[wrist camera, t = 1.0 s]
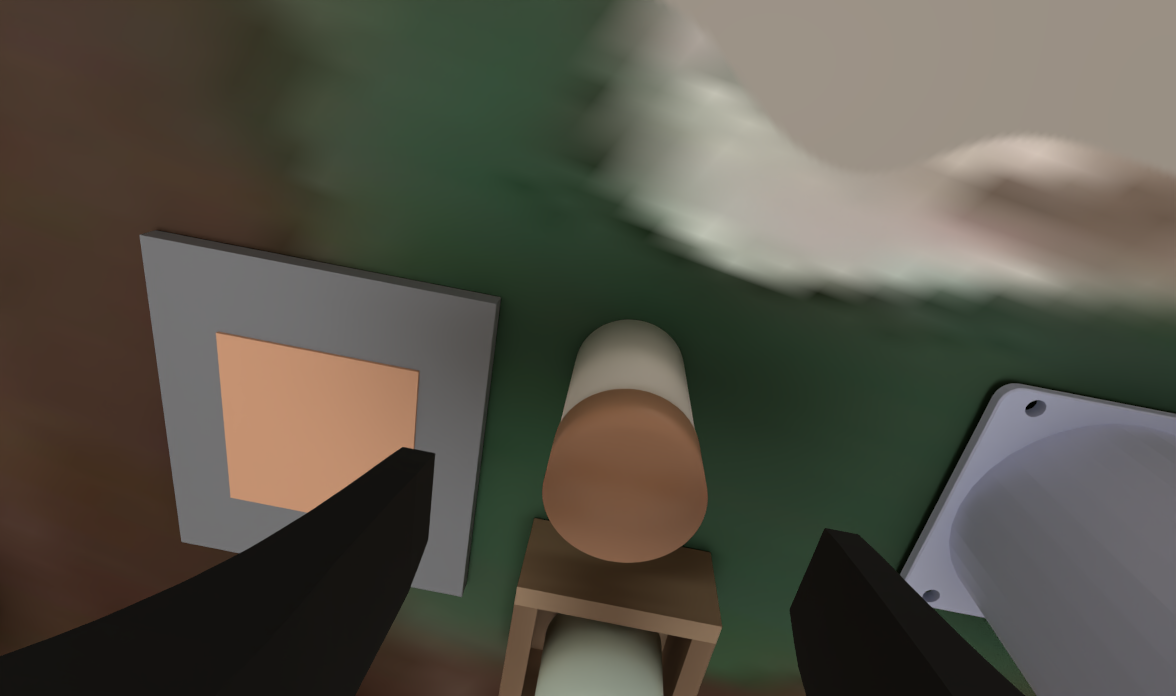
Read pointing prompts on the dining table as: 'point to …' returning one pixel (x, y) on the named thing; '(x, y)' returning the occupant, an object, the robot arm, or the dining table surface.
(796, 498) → the dining table surface
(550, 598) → the button housing
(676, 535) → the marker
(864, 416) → the dining table surface
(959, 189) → the dining table surface
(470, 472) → the grey square plate
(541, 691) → the button
